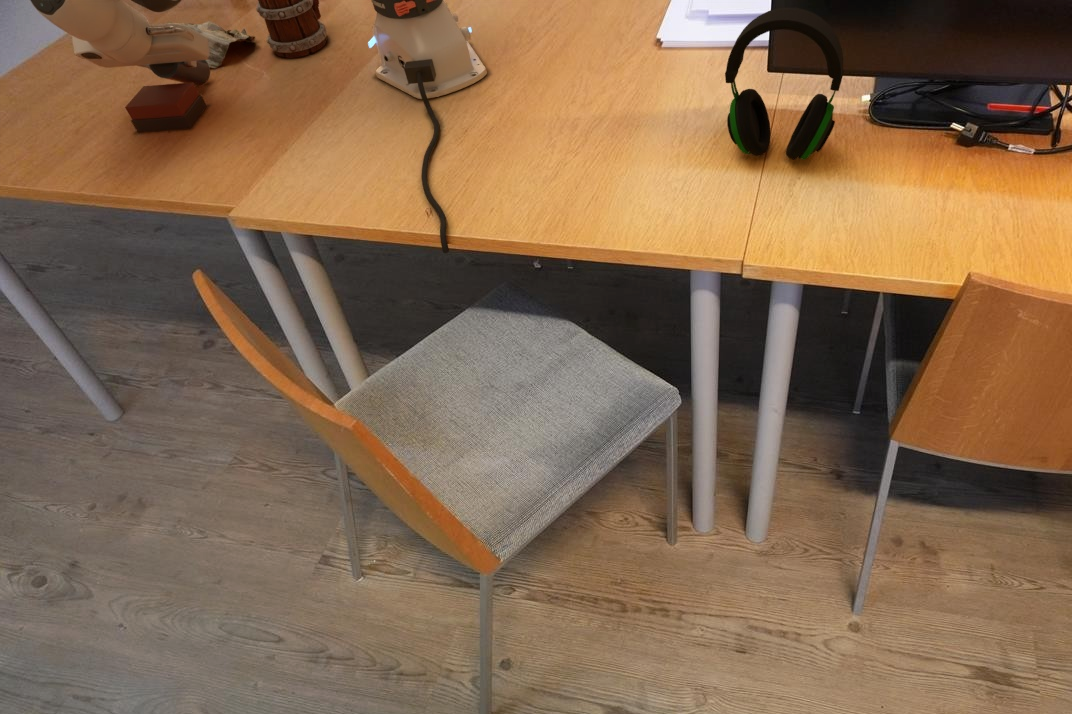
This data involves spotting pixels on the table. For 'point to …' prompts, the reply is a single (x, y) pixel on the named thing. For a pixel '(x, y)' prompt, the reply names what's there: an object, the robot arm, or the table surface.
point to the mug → (293, 26)
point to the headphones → (749, 109)
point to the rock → (218, 40)
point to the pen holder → (183, 72)
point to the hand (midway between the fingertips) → (174, 64)
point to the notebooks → (166, 107)
